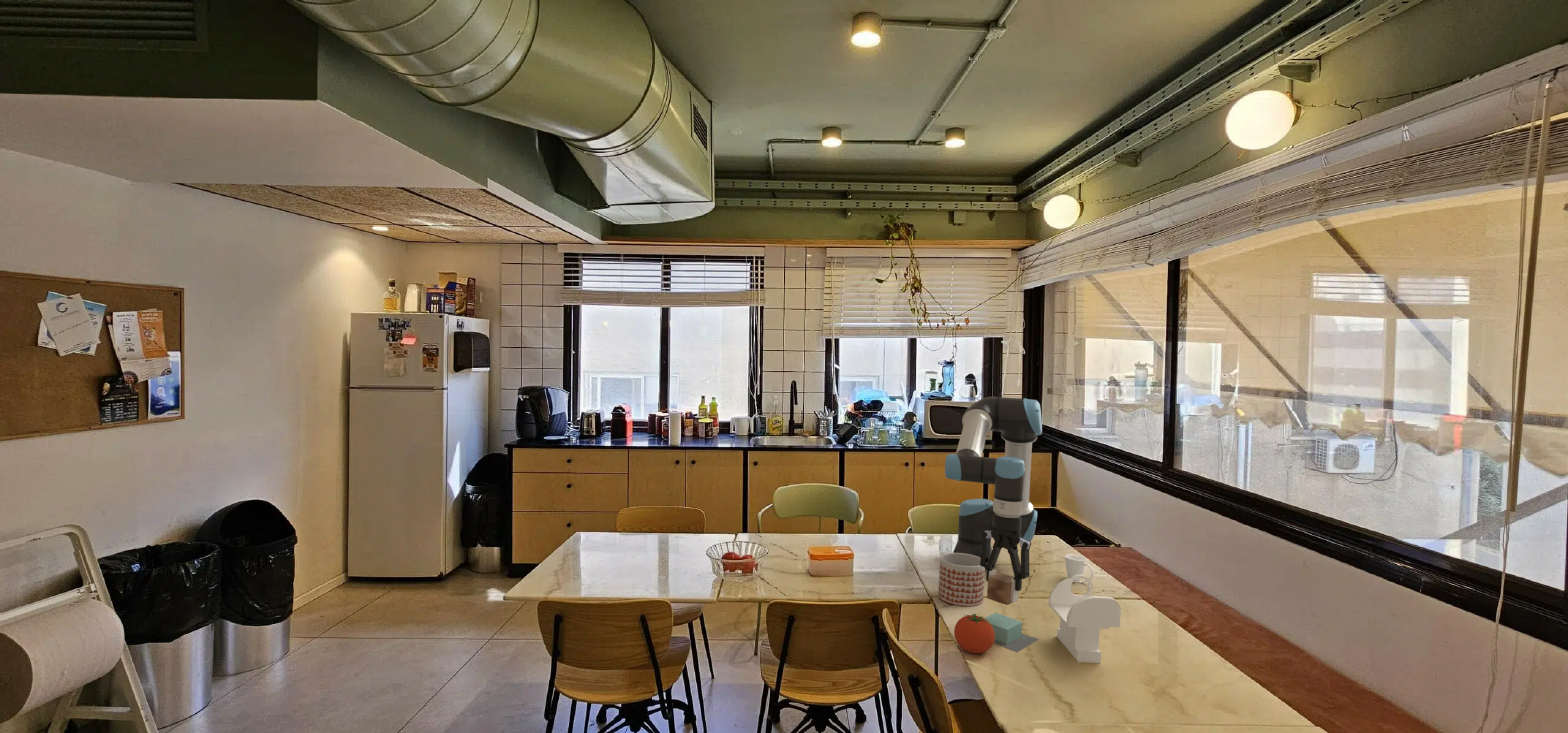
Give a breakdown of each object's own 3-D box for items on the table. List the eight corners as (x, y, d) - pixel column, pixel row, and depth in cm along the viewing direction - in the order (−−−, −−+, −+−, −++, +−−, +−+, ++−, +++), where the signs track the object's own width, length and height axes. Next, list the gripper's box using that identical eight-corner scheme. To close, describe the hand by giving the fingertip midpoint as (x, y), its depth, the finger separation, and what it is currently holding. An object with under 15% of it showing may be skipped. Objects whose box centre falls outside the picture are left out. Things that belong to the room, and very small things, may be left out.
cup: (1071, 575, 238) (1072, 553, 237) (1098, 584, 229) (1099, 561, 229) (1059, 578, 234) (1060, 556, 233) (1086, 588, 225) (1087, 564, 225)
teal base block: (979, 634, 185) (980, 620, 185) (994, 626, 191) (995, 612, 191) (1006, 644, 180) (1007, 629, 179) (1021, 636, 185) (1022, 622, 185)
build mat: (963, 632, 187) (963, 631, 187) (985, 621, 195) (985, 619, 195) (1017, 653, 175) (1017, 652, 175) (1038, 640, 184) (1038, 639, 184)
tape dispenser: (1046, 637, 186) (1050, 573, 185) (1093, 639, 186) (1097, 575, 185) (1066, 661, 172) (1070, 592, 171) (1117, 664, 172) (1121, 595, 171)
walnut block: (986, 598, 185) (988, 576, 185) (997, 593, 189) (999, 572, 189) (1007, 605, 180) (1008, 583, 180) (1018, 600, 185) (1019, 578, 184)
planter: (986, 596, 215) (988, 556, 214) (979, 611, 202) (981, 569, 202) (943, 588, 221) (945, 549, 220) (933, 602, 208) (935, 561, 208)
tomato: (987, 665, 169) (989, 625, 168) (947, 653, 174) (949, 615, 174) (998, 649, 177) (1000, 612, 177) (960, 639, 183) (962, 603, 182)
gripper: (969, 509, 188) (964, 590, 189) (1033, 524, 174) (1029, 612, 175) (983, 505, 193) (978, 584, 194) (1047, 519, 179) (1042, 605, 180)
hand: (1002, 597), depth 185 cm, fingers closed on walnut block, 6 cm apart
